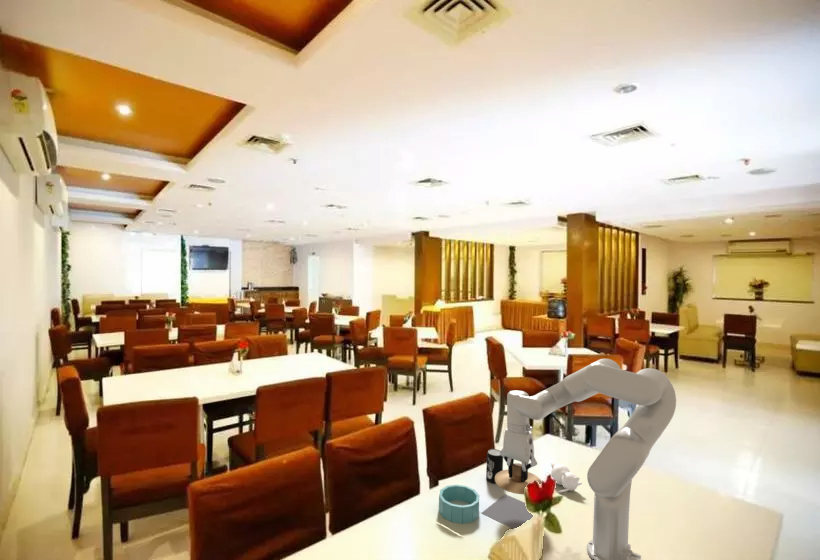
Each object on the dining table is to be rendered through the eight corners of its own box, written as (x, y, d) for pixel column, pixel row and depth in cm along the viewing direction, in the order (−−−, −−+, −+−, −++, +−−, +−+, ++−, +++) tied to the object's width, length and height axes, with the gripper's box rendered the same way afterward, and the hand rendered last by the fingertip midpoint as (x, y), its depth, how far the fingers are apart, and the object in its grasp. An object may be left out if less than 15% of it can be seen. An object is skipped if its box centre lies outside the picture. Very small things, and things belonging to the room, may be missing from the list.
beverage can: (502, 486, 161) (503, 456, 160) (486, 484, 162) (486, 454, 162) (502, 478, 167) (503, 449, 167) (486, 476, 168) (487, 447, 168)
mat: (547, 514, 142) (547, 512, 142) (526, 536, 130) (526, 535, 130) (505, 495, 154) (505, 494, 154) (481, 514, 141) (481, 513, 141)
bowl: (486, 511, 143) (486, 495, 143) (463, 530, 132) (464, 512, 132) (454, 496, 152) (454, 480, 152) (431, 512, 142) (431, 495, 142)
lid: (549, 481, 142) (549, 465, 142) (529, 499, 130) (529, 481, 130) (508, 467, 152) (508, 452, 152) (486, 482, 141) (486, 466, 141)
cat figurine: (578, 470, 156) (557, 455, 167) (559, 488, 153) (538, 472, 164) (586, 486, 158) (565, 471, 169) (567, 504, 155) (547, 487, 166)
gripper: (545, 429, 138) (545, 482, 138) (502, 418, 150) (502, 467, 149) (535, 436, 133) (535, 491, 133) (491, 423, 144) (491, 474, 144)
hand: (517, 478), depth 141 cm, fingers closed on lid, 4 cm apart
